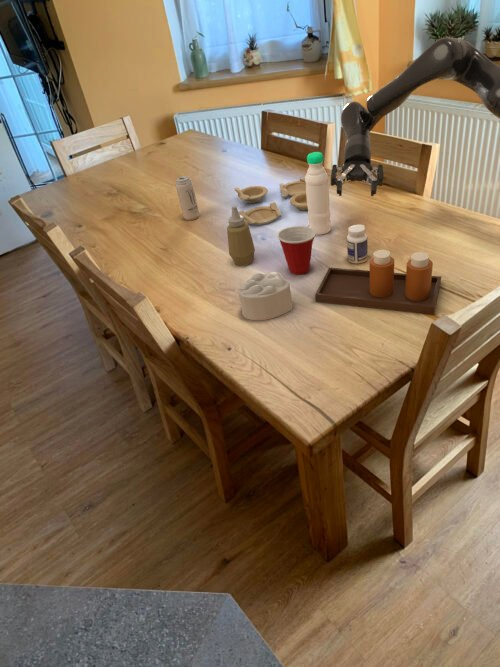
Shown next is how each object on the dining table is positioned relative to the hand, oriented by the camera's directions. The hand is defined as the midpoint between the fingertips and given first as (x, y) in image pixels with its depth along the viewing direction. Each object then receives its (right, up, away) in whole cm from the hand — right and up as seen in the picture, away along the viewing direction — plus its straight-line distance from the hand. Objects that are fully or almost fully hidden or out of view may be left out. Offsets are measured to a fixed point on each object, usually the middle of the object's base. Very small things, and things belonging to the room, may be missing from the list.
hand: (356, 193), depth 134 cm
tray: (+5, -27, -4) cm, 28 cm away
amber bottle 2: (+14, -28, -9) cm, 32 cm away
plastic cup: (-14, -19, +11) cm, 26 cm away
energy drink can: (-50, +5, +51) cm, 72 cm away
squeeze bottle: (-31, -16, +19) cm, 40 cm away
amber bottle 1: (+5, -27, -5) cm, 28 cm away
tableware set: (-18, +10, +49) cm, 53 cm away
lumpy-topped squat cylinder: (-25, -31, -2) cm, 40 cm away
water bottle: (-6, -4, +27) cm, 28 cm away
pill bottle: (+3, -16, +10) cm, 19 cm away
